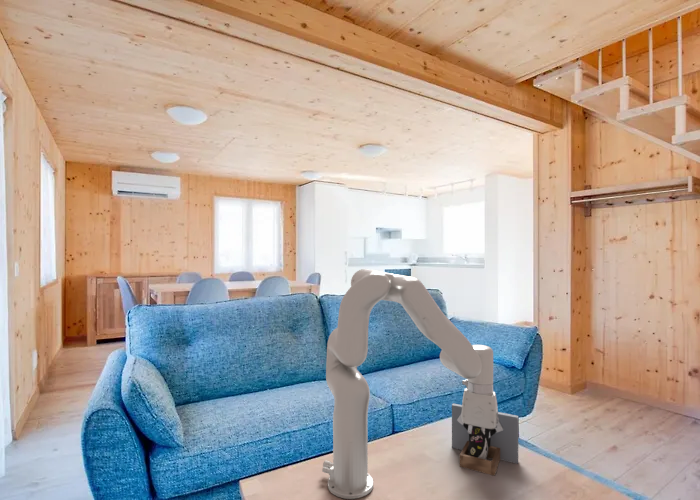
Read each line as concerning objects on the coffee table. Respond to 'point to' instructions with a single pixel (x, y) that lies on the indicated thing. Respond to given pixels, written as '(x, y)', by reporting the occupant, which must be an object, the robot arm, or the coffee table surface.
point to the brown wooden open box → (481, 460)
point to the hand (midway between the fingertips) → (479, 446)
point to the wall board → (502, 439)
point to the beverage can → (479, 442)
